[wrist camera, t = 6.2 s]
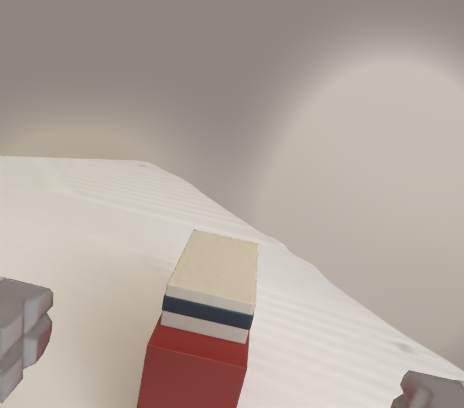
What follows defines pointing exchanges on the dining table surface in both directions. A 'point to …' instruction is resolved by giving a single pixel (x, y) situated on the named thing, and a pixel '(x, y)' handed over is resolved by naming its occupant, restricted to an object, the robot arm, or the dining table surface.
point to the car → (203, 327)
